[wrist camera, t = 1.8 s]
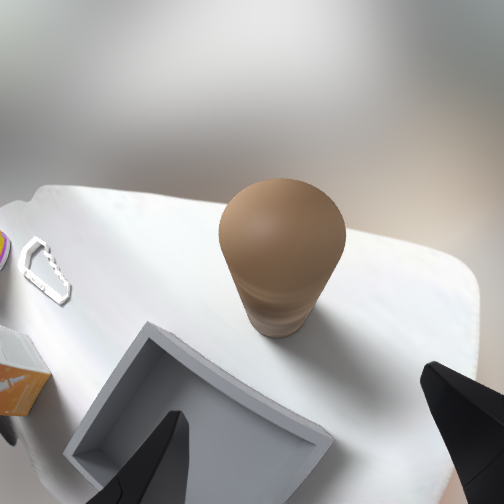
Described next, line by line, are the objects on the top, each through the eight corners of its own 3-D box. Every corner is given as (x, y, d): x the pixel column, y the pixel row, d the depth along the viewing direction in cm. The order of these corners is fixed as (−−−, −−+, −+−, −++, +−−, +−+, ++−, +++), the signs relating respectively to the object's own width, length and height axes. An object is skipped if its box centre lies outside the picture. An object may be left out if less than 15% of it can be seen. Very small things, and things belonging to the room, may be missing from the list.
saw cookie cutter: (89, 271, 26) (81, 265, 25) (70, 310, 24) (61, 306, 23) (34, 236, 28) (26, 230, 27) (18, 267, 27) (10, 262, 25)
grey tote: (321, 426, 18) (334, 439, 13) (223, 537, 13) (213, 565, 8) (171, 333, 22) (147, 321, 17) (94, 446, 17) (62, 453, 13)
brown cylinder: (318, 297, 22) (363, 210, 11) (287, 349, 21) (308, 315, 9) (267, 269, 24) (261, 163, 12) (235, 317, 22) (193, 247, 10)
